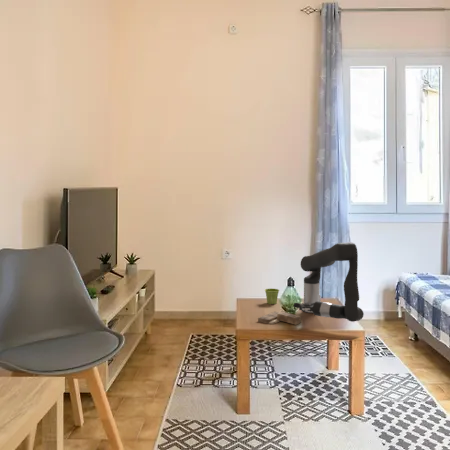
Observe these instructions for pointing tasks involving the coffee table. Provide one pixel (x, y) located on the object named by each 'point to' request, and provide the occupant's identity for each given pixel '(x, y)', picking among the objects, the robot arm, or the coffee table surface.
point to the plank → (288, 318)
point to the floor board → (269, 318)
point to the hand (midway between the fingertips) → (294, 304)
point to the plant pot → (271, 295)
